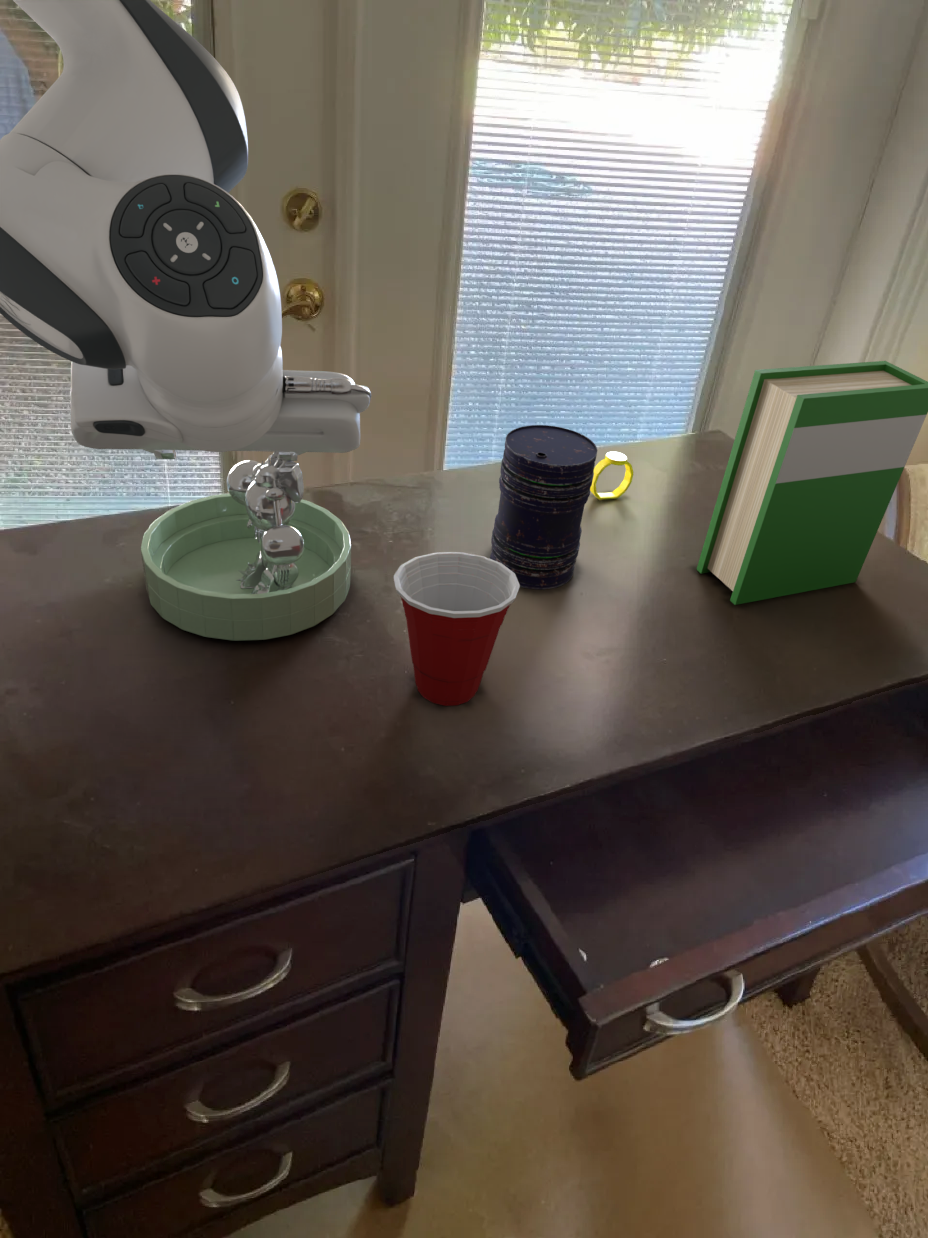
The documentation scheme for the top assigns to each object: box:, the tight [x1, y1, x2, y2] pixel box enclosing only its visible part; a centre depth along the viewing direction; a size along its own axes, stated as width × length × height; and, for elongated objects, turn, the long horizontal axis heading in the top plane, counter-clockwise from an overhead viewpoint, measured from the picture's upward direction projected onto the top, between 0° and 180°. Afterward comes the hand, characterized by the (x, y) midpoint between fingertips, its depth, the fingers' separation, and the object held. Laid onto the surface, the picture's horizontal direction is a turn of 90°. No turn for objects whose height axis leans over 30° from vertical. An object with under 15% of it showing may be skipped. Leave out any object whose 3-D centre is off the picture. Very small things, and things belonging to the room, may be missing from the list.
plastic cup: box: [393, 551, 521, 707], centre depth 79 cm, size 11×11×12 cm
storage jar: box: [489, 424, 598, 590], centre depth 96 cm, size 10×10×15 cm
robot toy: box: [226, 452, 305, 594], centre depth 88 cm, size 15×6×15 cm, turn 25°
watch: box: [590, 451, 635, 501], centre depth 114 cm, size 6×3×6 cm, turn 115°
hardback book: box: [696, 360, 928, 606], centre depth 97 cm, size 18×7×24 cm, turn 113°
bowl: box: [140, 492, 352, 642], centre depth 91 cm, size 20×20×6 cm
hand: (228, 450), depth 71 cm, fingers open, 8 cm apart
